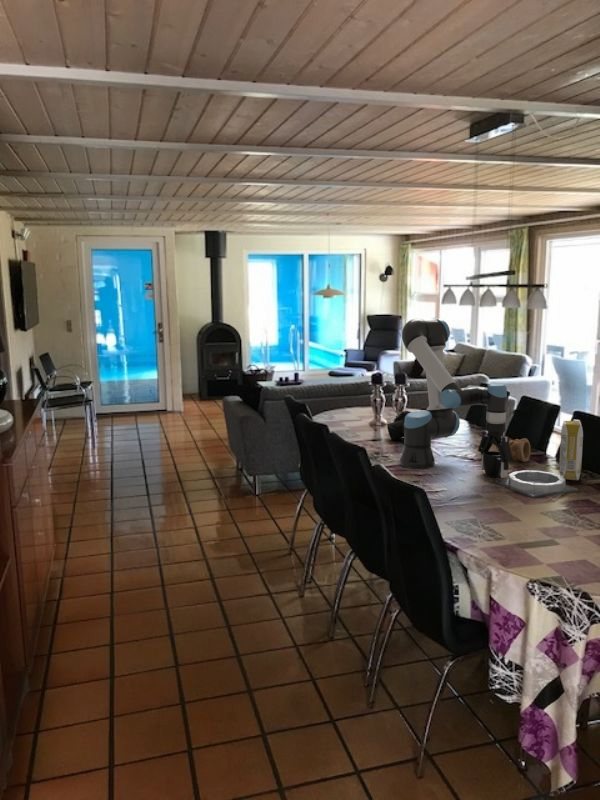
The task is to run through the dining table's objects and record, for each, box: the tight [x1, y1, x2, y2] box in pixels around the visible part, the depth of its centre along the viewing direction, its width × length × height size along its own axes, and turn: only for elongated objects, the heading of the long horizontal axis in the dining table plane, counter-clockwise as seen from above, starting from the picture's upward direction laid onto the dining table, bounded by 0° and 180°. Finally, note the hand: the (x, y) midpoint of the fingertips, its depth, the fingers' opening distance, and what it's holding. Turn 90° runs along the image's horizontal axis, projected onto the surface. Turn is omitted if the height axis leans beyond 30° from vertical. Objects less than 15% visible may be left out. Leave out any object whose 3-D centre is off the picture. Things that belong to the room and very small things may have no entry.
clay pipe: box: [495, 437, 532, 463], centre depth 287 cm, size 19×11×15 cm
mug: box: [483, 450, 503, 478], centre depth 259 cm, size 8×12×10 cm
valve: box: [386, 410, 412, 441], centre depth 322 cm, size 22×15×30 cm
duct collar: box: [496, 469, 579, 499], centre depth 245 cm, size 21×21×4 cm
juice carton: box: [559, 419, 584, 481], centre depth 255 cm, size 9×8×24 cm
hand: (494, 473), depth 259 cm, fingers open, 12 cm apart
